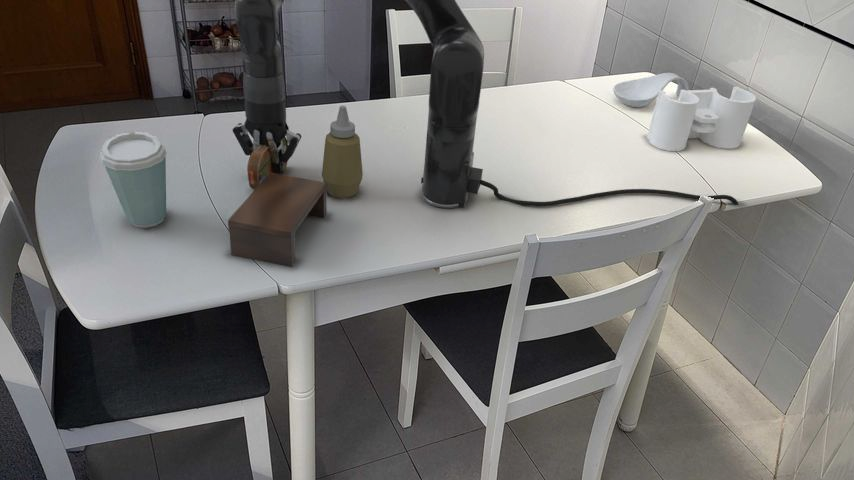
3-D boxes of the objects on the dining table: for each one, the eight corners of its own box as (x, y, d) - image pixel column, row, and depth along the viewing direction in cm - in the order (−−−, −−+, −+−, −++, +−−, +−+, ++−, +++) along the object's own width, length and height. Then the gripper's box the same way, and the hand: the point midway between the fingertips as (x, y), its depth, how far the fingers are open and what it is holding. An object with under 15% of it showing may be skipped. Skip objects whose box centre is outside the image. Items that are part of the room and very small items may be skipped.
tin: (261, 199, 143) (259, 160, 138) (245, 196, 143) (243, 157, 138) (290, 165, 155) (289, 128, 150) (276, 162, 155) (274, 125, 150)
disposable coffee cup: (176, 232, 131) (164, 156, 122) (110, 237, 128) (93, 159, 119) (176, 202, 139) (165, 128, 130) (114, 206, 136) (99, 131, 127)
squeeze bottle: (345, 206, 144) (346, 120, 133) (313, 192, 147) (311, 106, 136) (370, 190, 150) (373, 106, 139) (339, 177, 153) (339, 94, 142)
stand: (326, 214, 141) (326, 182, 137) (292, 266, 126) (290, 232, 122) (271, 204, 142) (269, 172, 138) (231, 254, 127) (227, 220, 123)
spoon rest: (628, 114, 194) (635, 88, 190) (602, 97, 202) (607, 71, 198) (696, 105, 204) (703, 80, 200) (668, 89, 212) (674, 64, 208)
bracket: (662, 153, 177) (675, 105, 170) (641, 135, 184) (654, 89, 177) (748, 147, 184) (765, 101, 177) (725, 130, 192) (740, 86, 184)
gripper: (220, 95, 136) (228, 178, 146) (292, 107, 134) (296, 191, 145) (237, 81, 142) (244, 162, 152) (307, 92, 140) (309, 173, 151)
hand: (269, 175), depth 148 cm, fingers closed on tin, 2 cm apart
